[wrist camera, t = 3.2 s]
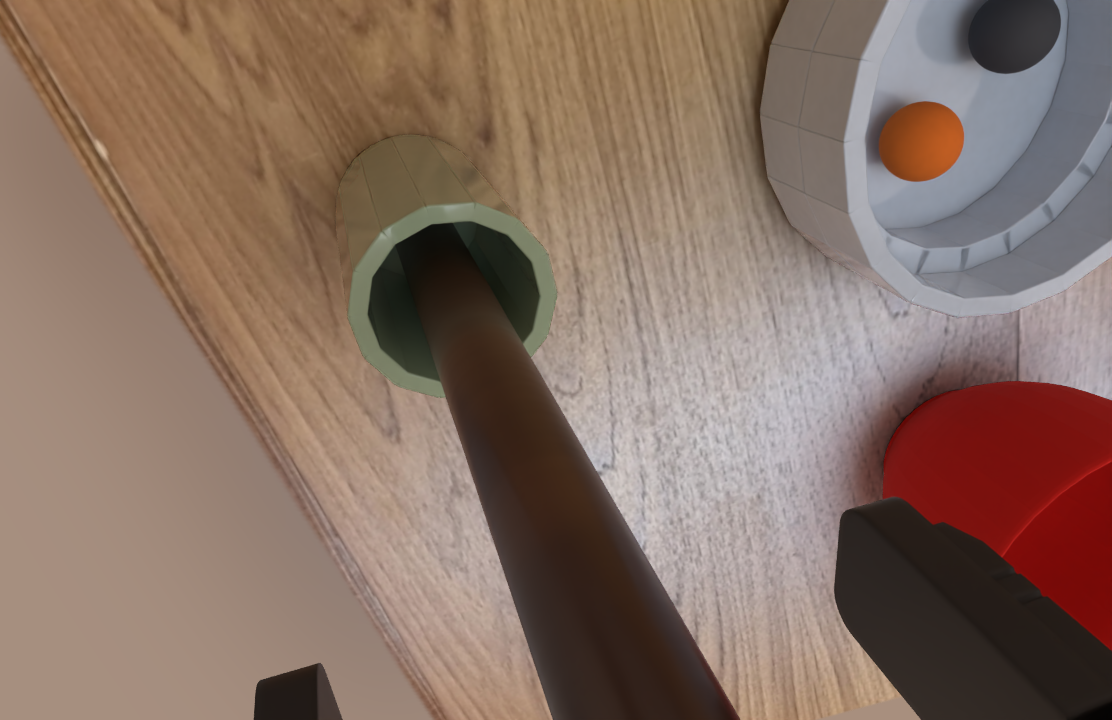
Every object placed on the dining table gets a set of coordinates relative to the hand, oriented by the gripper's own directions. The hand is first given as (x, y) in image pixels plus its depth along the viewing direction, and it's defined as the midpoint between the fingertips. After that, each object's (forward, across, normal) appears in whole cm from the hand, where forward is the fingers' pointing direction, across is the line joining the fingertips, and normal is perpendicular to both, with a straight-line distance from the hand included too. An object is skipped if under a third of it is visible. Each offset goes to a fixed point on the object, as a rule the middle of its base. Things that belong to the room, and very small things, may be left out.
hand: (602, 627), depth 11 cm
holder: (+21, 0, 0) cm, 21 cm away
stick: (+20, 0, 0) cm, 20 cm away
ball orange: (+20, -19, 0) cm, 28 cm away
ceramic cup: (+21, -23, +19) cm, 37 cm away
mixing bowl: (+21, -21, -1) cm, 30 cm away
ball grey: (+20, -23, -3) cm, 31 cm away
